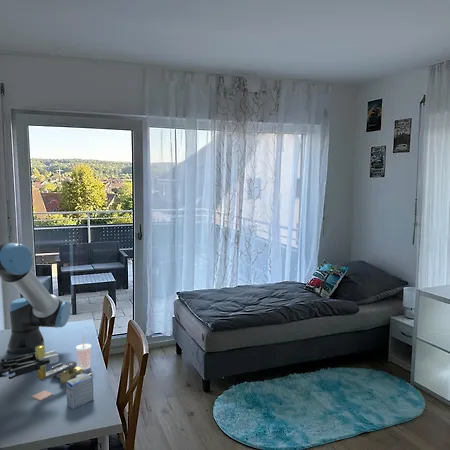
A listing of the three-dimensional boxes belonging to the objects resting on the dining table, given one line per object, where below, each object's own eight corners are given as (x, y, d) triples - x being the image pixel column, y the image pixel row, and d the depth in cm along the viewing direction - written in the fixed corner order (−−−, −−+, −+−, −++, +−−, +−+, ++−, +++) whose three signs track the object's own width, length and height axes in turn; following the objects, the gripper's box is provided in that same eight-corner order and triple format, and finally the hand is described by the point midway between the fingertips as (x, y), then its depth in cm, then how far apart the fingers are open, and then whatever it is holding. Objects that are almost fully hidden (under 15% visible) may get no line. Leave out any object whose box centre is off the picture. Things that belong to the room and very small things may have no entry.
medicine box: (86, 396, 149) (86, 372, 148) (94, 400, 147) (93, 376, 146) (66, 405, 143) (65, 381, 142) (73, 409, 140) (72, 385, 140)
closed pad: (31, 397, 148) (31, 396, 148) (44, 391, 153) (44, 390, 153) (40, 401, 146) (40, 400, 146) (53, 394, 150) (53, 393, 150)
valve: (50, 378, 162) (49, 364, 162) (62, 373, 167) (62, 359, 166) (81, 391, 153) (80, 375, 152) (93, 384, 158) (93, 370, 157)
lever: (72, 363, 162) (70, 333, 161) (78, 365, 160) (77, 335, 159) (34, 380, 148) (32, 347, 147) (41, 383, 146) (39, 349, 145)
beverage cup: (81, 372, 168) (80, 338, 167) (73, 367, 172) (72, 334, 171) (95, 366, 173) (94, 334, 171) (87, 362, 177) (85, 330, 175)
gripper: (-21, 376, 144) (50, 358, 158) (-13, 395, 131) (64, 373, 145) (-22, 355, 143) (49, 339, 157) (-14, 372, 130) (63, 353, 145)
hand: (56, 355), depth 151 cm, fingers closed on lever, 3 cm apart
